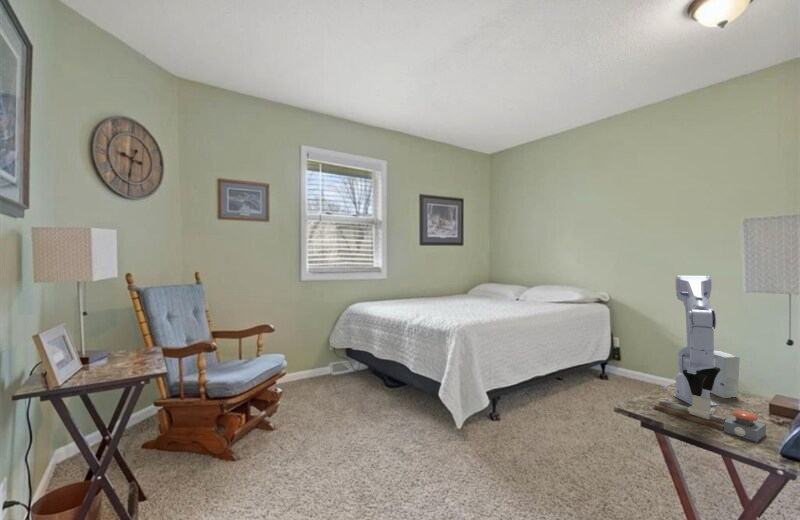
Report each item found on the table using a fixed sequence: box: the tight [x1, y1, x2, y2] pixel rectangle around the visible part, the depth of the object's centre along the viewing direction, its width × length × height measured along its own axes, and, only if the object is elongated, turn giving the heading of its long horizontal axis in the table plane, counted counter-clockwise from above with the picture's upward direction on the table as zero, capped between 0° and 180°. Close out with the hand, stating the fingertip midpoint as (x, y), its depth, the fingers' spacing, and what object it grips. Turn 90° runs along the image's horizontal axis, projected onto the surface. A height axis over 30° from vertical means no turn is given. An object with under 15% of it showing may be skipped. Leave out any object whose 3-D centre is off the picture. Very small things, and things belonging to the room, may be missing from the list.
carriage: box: [688, 395, 717, 419], centre depth 114 cm, size 5×6×6 cm
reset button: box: [732, 409, 758, 427], centre depth 105 cm, size 5×5×3 cm
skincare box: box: [710, 350, 740, 399], centre depth 133 cm, size 8×6×15 cm
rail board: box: [653, 399, 727, 431], centre depth 116 cm, size 18×6×2 cm, turn 31°
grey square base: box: [723, 414, 767, 443], centre depth 105 cm, size 7×7×3 cm
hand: (701, 392), depth 114 cm, fingers open, 7 cm apart
